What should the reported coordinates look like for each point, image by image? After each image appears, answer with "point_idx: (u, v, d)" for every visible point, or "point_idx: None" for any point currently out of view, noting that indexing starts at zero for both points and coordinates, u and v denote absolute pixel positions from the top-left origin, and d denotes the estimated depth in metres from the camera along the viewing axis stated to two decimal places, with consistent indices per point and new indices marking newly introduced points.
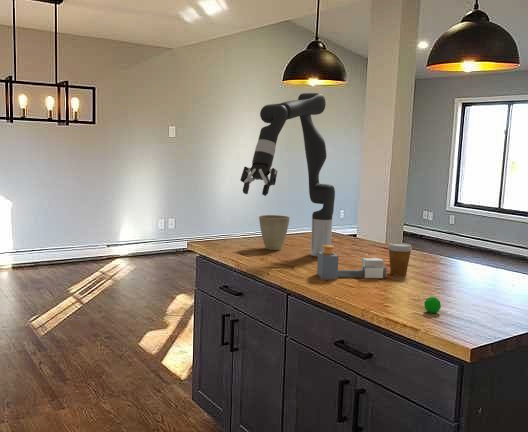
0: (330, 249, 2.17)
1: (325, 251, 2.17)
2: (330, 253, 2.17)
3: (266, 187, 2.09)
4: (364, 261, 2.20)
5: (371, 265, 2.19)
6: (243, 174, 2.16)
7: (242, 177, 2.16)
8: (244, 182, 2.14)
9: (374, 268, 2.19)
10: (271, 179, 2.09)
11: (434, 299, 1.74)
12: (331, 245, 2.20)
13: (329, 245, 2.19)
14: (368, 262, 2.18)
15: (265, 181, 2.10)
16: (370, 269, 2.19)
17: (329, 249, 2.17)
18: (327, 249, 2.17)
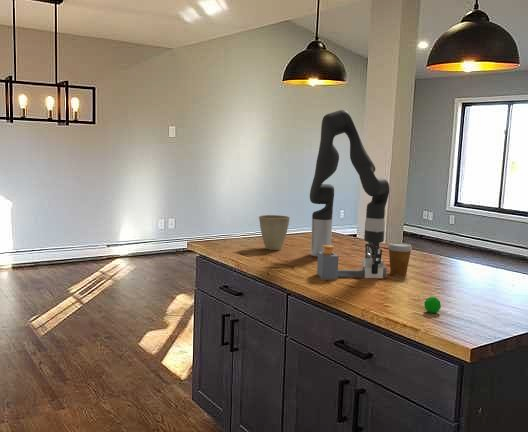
0: (330, 249, 2.17)
1: (325, 251, 2.17)
2: (330, 253, 2.17)
3: None
4: (364, 261, 2.20)
5: (371, 265, 2.19)
6: None
7: None
8: None
9: None
10: None
11: (434, 299, 1.74)
12: (331, 245, 2.20)
13: (329, 245, 2.19)
14: (368, 262, 2.18)
15: None
16: (370, 269, 2.19)
17: (329, 249, 2.17)
18: (327, 249, 2.17)
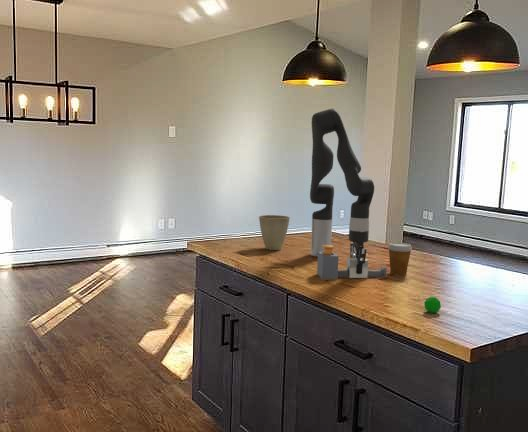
0: (330, 249, 2.17)
1: (325, 251, 2.17)
2: (330, 253, 2.17)
3: None
4: (349, 261, 2.20)
5: None
6: None
7: None
8: (363, 263, 2.17)
9: None
10: None
11: (434, 299, 1.74)
12: (331, 245, 2.20)
13: (329, 245, 2.19)
14: (353, 262, 2.18)
15: None
16: (354, 269, 2.18)
17: (329, 249, 2.17)
18: (327, 249, 2.17)
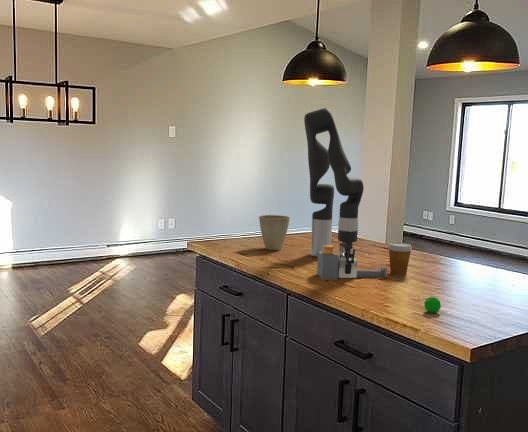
0: (330, 249, 2.17)
1: (325, 251, 2.17)
2: (330, 253, 2.17)
3: None
4: (338, 261, 2.19)
5: (344, 265, 2.17)
6: None
7: None
8: (351, 263, 2.17)
9: None
10: None
11: (434, 299, 1.74)
12: (331, 245, 2.20)
13: (329, 245, 2.19)
14: (341, 262, 2.17)
15: None
16: (343, 268, 2.17)
17: (329, 249, 2.17)
18: (327, 249, 2.17)
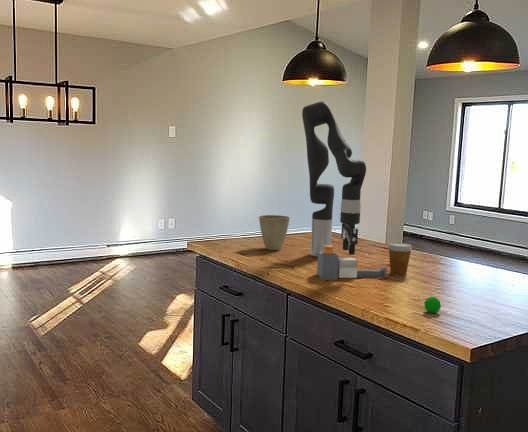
0: (330, 249, 2.17)
1: (325, 251, 2.17)
2: (330, 253, 2.17)
3: None
4: (338, 261, 2.19)
5: (345, 265, 2.17)
6: None
7: None
8: (355, 244, 2.15)
9: (348, 268, 2.18)
10: None
11: (434, 299, 1.74)
12: (331, 245, 2.20)
13: (329, 245, 2.19)
14: (342, 262, 2.17)
15: None
16: (343, 268, 2.17)
17: (329, 249, 2.17)
18: (327, 249, 2.17)
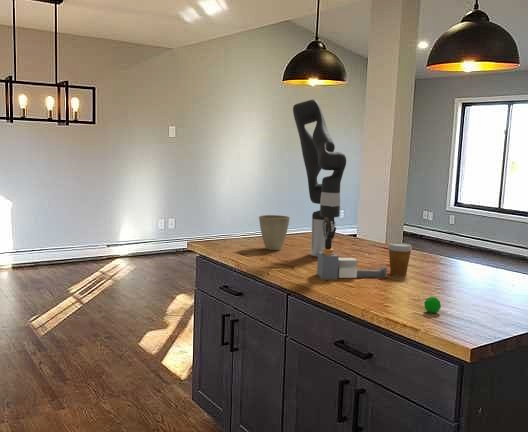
0: (330, 252, 2.17)
1: (325, 254, 2.18)
2: None
3: None
4: (338, 261, 2.19)
5: (345, 265, 2.17)
6: None
7: None
8: (331, 239, 2.17)
9: (348, 268, 2.18)
10: None
11: (434, 299, 1.74)
12: (331, 248, 2.20)
13: None
14: (342, 262, 2.17)
15: None
16: (343, 268, 2.17)
17: (329, 252, 2.17)
18: (327, 252, 2.17)
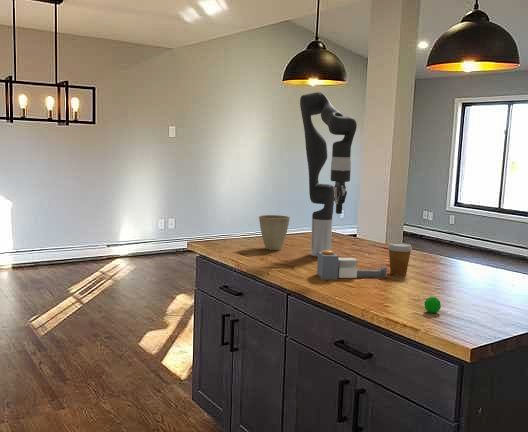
0: (330, 254, 2.17)
1: None
2: None
3: None
4: (338, 261, 2.19)
5: (345, 265, 2.17)
6: None
7: None
8: (342, 203, 2.19)
9: (348, 268, 2.18)
10: None
11: (434, 299, 1.74)
12: None
13: (329, 250, 2.20)
14: (342, 262, 2.17)
15: None
16: (343, 268, 2.17)
17: (329, 254, 2.17)
18: (327, 254, 2.17)
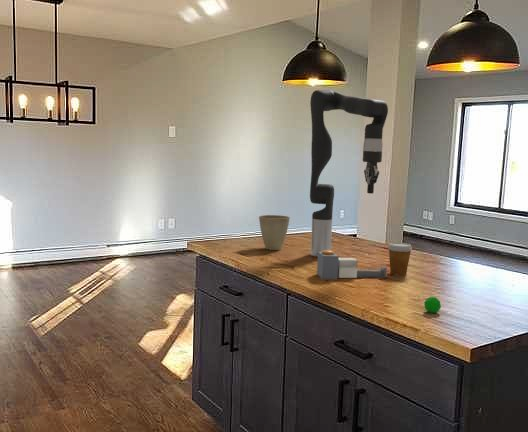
0: (330, 254, 2.17)
1: None
2: None
3: None
4: (338, 261, 2.19)
5: (345, 265, 2.17)
6: None
7: None
8: (374, 183, 2.28)
9: (348, 268, 2.18)
10: None
11: (434, 299, 1.74)
12: None
13: (329, 250, 2.20)
14: (342, 262, 2.17)
15: None
16: (343, 268, 2.17)
17: (329, 254, 2.17)
18: (327, 254, 2.17)
